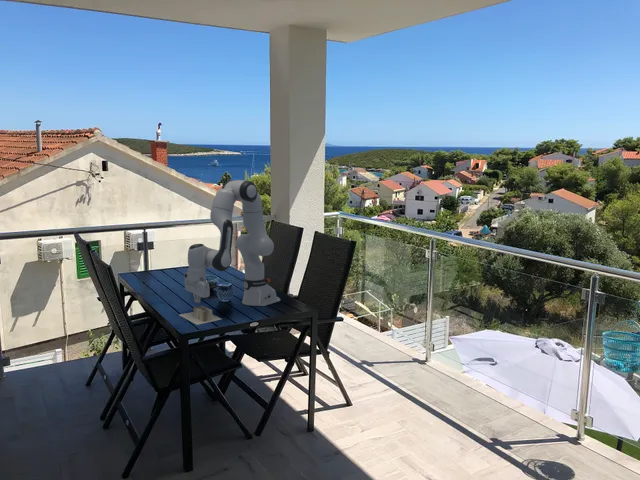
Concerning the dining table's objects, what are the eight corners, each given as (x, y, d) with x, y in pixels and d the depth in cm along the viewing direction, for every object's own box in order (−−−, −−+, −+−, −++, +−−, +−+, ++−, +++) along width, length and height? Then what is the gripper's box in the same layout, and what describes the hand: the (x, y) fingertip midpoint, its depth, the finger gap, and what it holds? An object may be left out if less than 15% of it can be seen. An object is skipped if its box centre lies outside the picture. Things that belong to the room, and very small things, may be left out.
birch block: (202, 305, 246) (212, 310, 239) (202, 314, 247) (212, 319, 240) (193, 307, 243) (203, 312, 236) (193, 316, 244) (203, 321, 236)
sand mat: (203, 310, 256) (203, 309, 256) (222, 320, 241) (222, 319, 241) (178, 315, 246) (178, 314, 246) (197, 325, 232) (197, 324, 232)
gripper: (212, 278, 237) (213, 305, 239) (193, 271, 252) (193, 297, 254) (201, 280, 233) (201, 308, 235) (182, 273, 248) (182, 299, 250)
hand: (197, 302), depth 244 cm, fingers closed
